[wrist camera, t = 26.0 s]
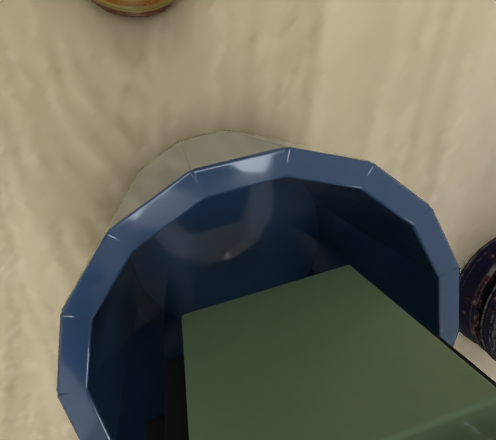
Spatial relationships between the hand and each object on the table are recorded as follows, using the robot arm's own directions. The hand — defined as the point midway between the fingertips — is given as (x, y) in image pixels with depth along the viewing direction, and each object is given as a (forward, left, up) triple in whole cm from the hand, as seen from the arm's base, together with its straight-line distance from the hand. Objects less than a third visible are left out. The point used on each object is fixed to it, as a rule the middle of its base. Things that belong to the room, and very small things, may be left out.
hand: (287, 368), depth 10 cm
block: (0, 0, 0) cm, 0 cm away
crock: (0, 0, -11) cm, 11 cm away
